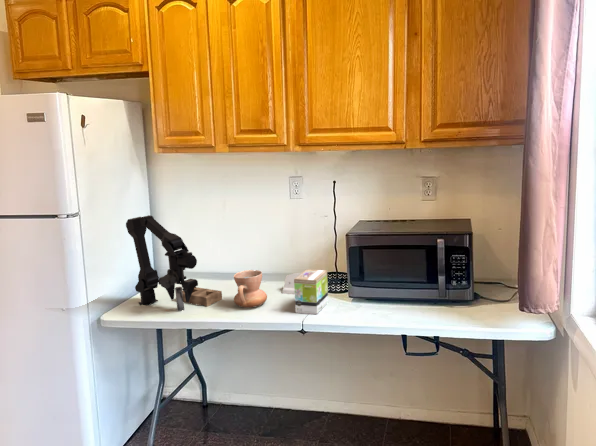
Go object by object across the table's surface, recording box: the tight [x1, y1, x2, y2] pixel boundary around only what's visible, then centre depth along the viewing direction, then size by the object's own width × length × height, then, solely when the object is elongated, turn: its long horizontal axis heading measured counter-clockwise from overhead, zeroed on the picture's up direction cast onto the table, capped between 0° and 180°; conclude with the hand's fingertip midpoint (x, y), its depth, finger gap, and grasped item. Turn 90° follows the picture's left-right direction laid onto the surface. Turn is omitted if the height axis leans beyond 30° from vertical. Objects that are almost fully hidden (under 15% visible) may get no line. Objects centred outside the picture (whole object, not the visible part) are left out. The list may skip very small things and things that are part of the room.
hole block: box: [182, 286, 223, 307], centre depth 247 cm, size 18×10×4 cm, turn 56°
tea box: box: [294, 269, 329, 315], centre depth 227 cm, size 15×10×15 cm, turn 160°
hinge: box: [281, 272, 302, 295], centre depth 249 cm, size 17×5×10 cm, turn 66°
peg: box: [174, 286, 185, 312], centre depth 236 cm, size 3×3×10 cm
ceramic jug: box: [233, 269, 268, 309], centre depth 235 cm, size 18×14×14 cm
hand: (180, 300), depth 236 cm, fingers open, 9 cm apart
